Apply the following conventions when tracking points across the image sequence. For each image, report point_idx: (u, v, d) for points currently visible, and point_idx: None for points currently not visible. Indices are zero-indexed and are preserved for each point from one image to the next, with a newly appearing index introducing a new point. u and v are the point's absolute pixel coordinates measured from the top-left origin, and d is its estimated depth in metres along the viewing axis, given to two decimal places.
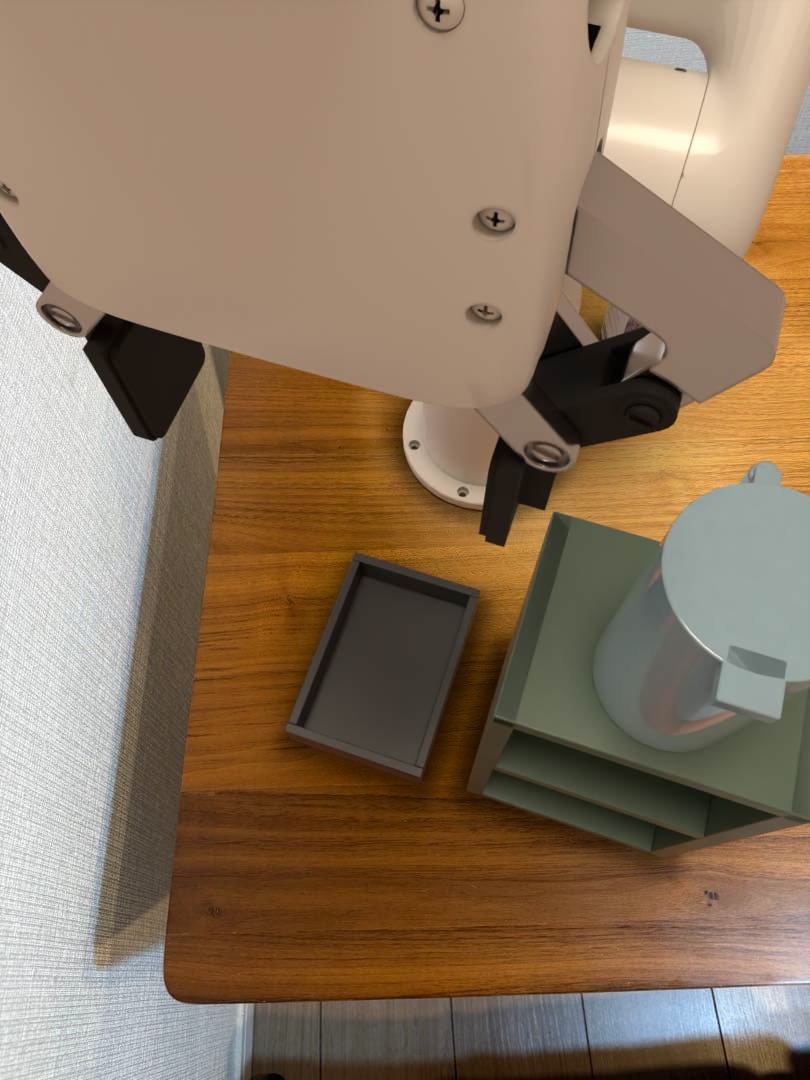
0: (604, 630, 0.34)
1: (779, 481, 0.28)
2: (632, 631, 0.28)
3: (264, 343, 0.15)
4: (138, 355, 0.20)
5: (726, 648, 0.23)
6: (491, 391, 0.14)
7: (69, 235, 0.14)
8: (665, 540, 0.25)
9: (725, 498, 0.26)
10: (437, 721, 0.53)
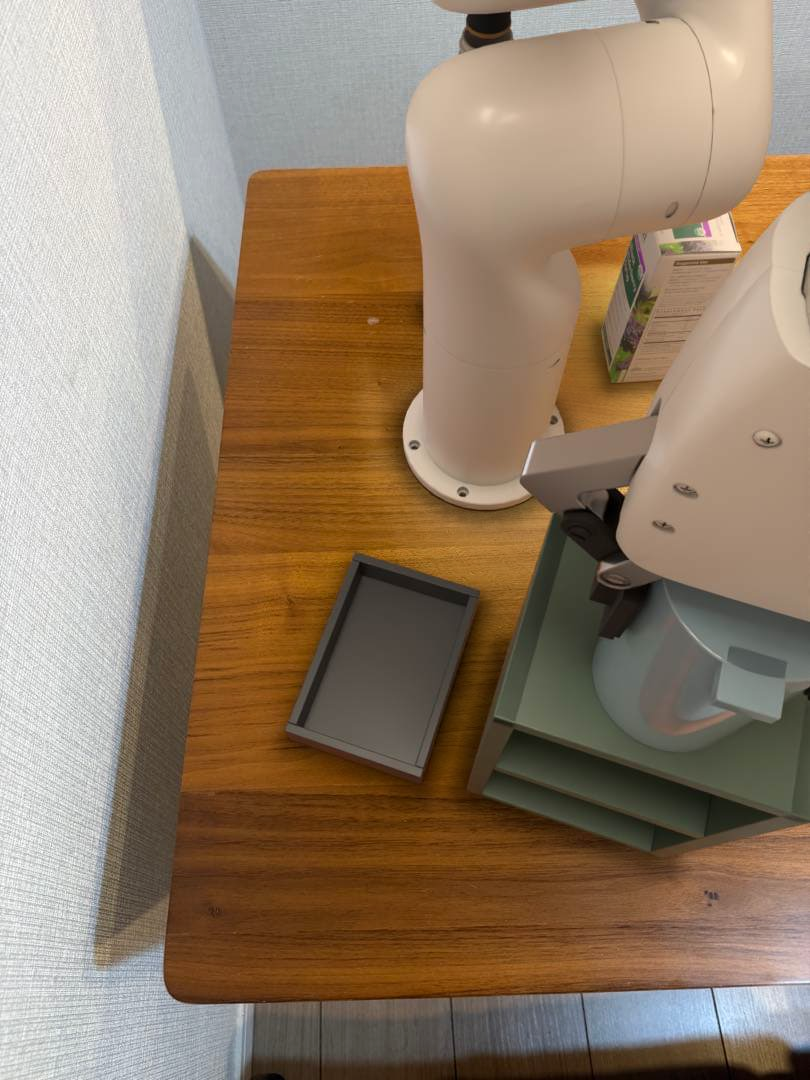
0: None
1: None
2: (632, 631, 0.28)
3: (804, 612, 0.21)
4: None
5: (726, 648, 0.23)
6: None
7: (698, 552, 0.20)
8: None
9: None
10: (437, 721, 0.53)
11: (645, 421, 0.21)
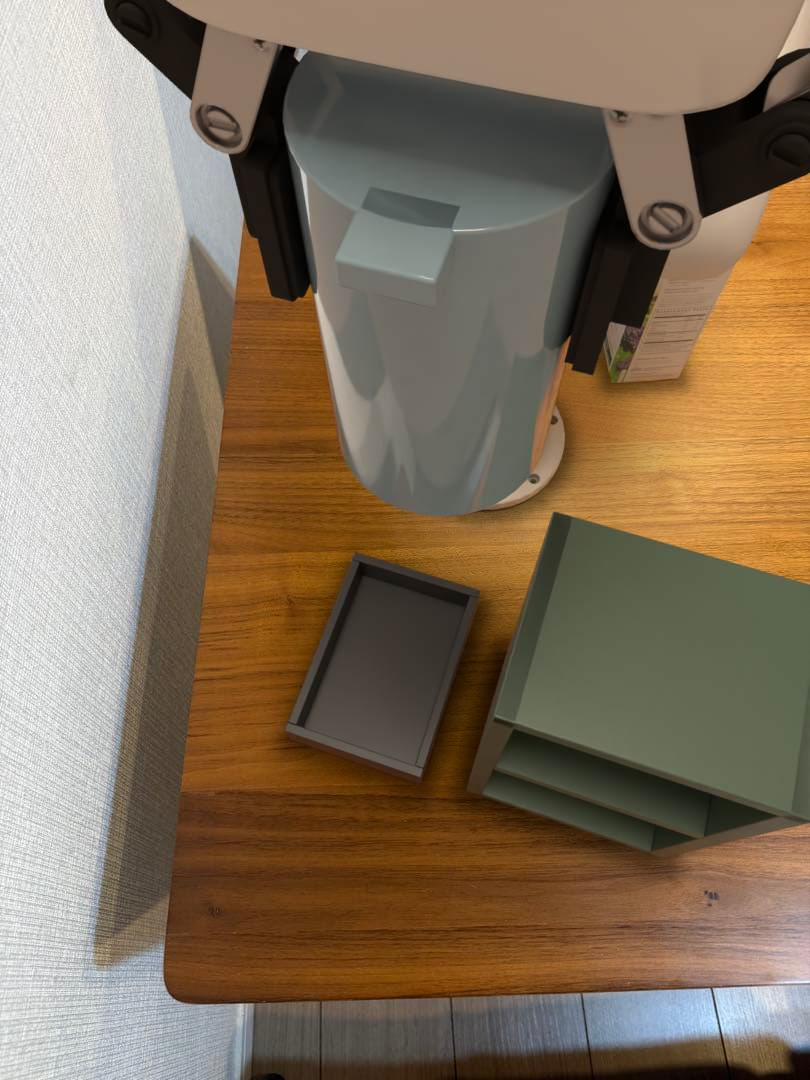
0: None
1: None
2: None
3: (429, 33, 0.12)
4: None
5: (363, 191, 0.14)
6: (732, 67, 0.11)
7: None
8: None
9: None
10: (437, 721, 0.53)
11: None
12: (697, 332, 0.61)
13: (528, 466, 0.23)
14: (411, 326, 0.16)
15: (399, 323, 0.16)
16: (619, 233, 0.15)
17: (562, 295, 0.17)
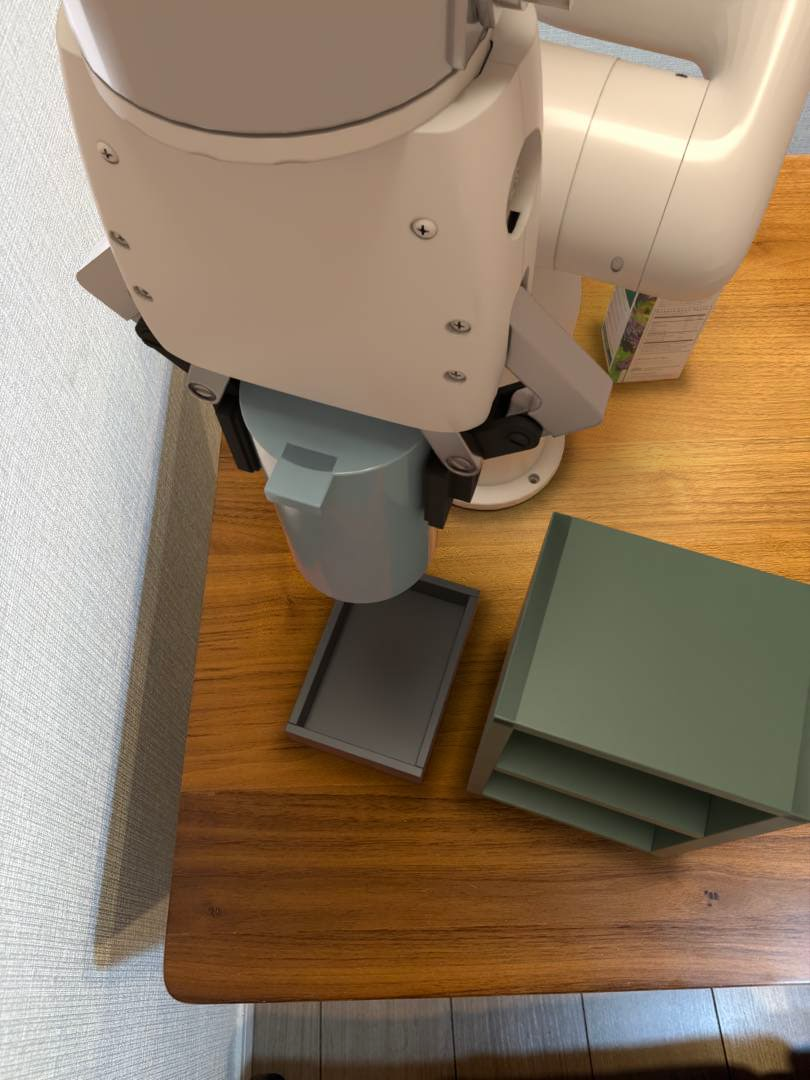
0: None
1: None
2: None
3: (310, 389, 0.22)
4: None
5: (283, 446, 0.25)
6: (462, 422, 0.21)
7: (184, 321, 0.21)
8: None
9: None
10: (437, 721, 0.53)
11: None
12: (697, 332, 0.61)
13: (419, 570, 0.34)
14: None
15: None
16: (439, 464, 0.25)
17: (412, 490, 0.27)
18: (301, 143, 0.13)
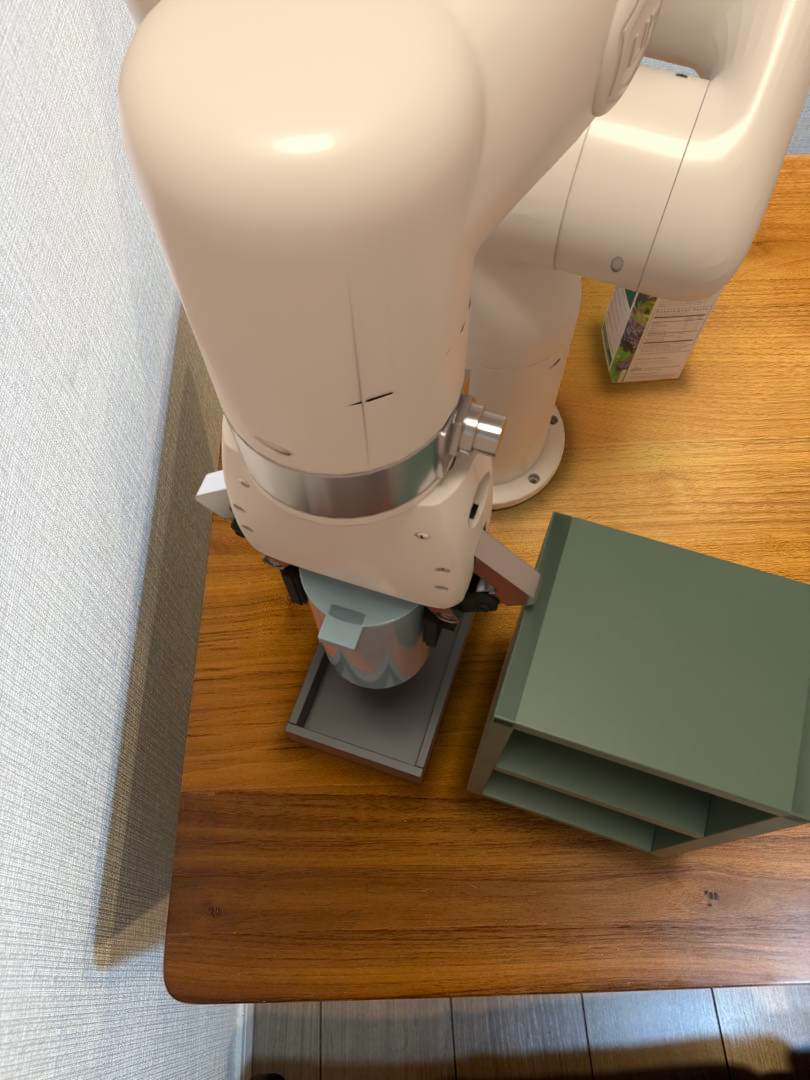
0: None
1: None
2: None
3: (350, 580, 0.35)
4: None
5: (329, 606, 0.37)
6: (446, 605, 0.34)
7: (272, 543, 0.34)
8: None
9: None
10: (437, 721, 0.53)
11: None
12: (697, 332, 0.61)
13: (419, 665, 0.46)
14: None
15: None
16: (432, 614, 0.38)
17: (414, 627, 0.39)
18: (359, 520, 0.26)
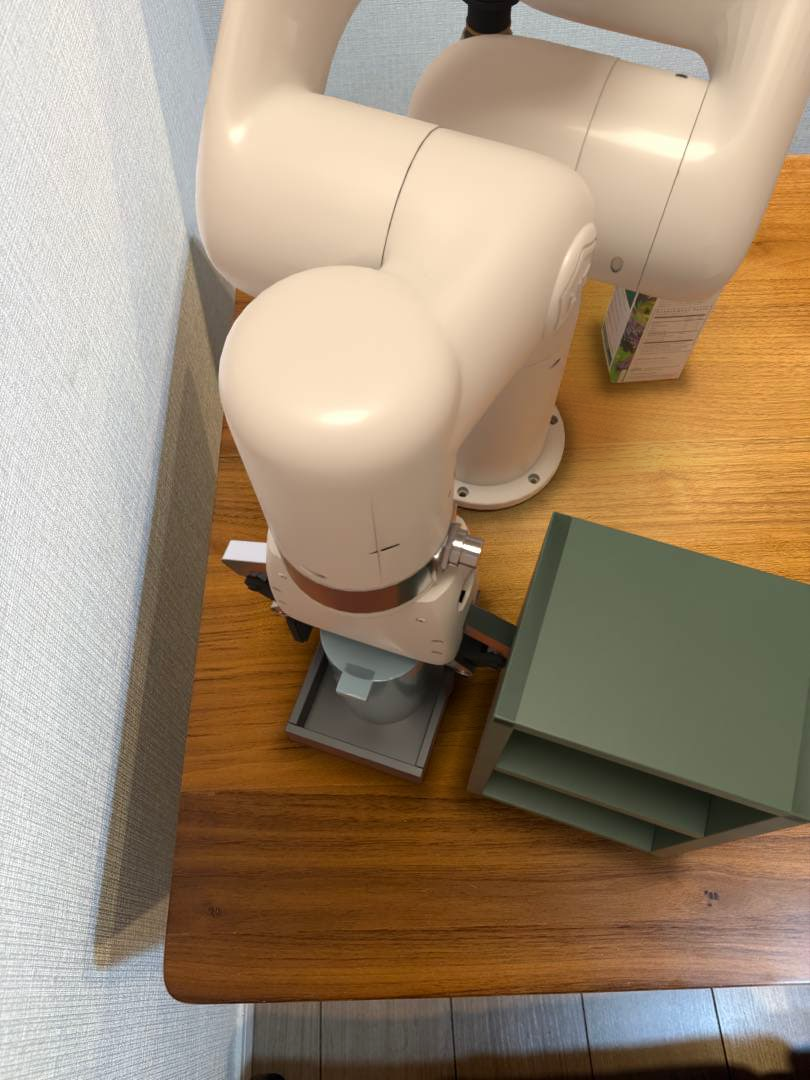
0: None
1: None
2: None
3: (364, 641, 0.43)
4: None
5: (345, 664, 0.46)
6: (441, 663, 0.43)
7: (302, 614, 0.42)
8: None
9: None
10: (437, 721, 0.53)
11: None
12: (697, 332, 0.61)
13: (418, 705, 0.55)
14: None
15: None
16: (450, 667, 0.46)
17: (414, 679, 0.48)
18: (374, 614, 0.34)
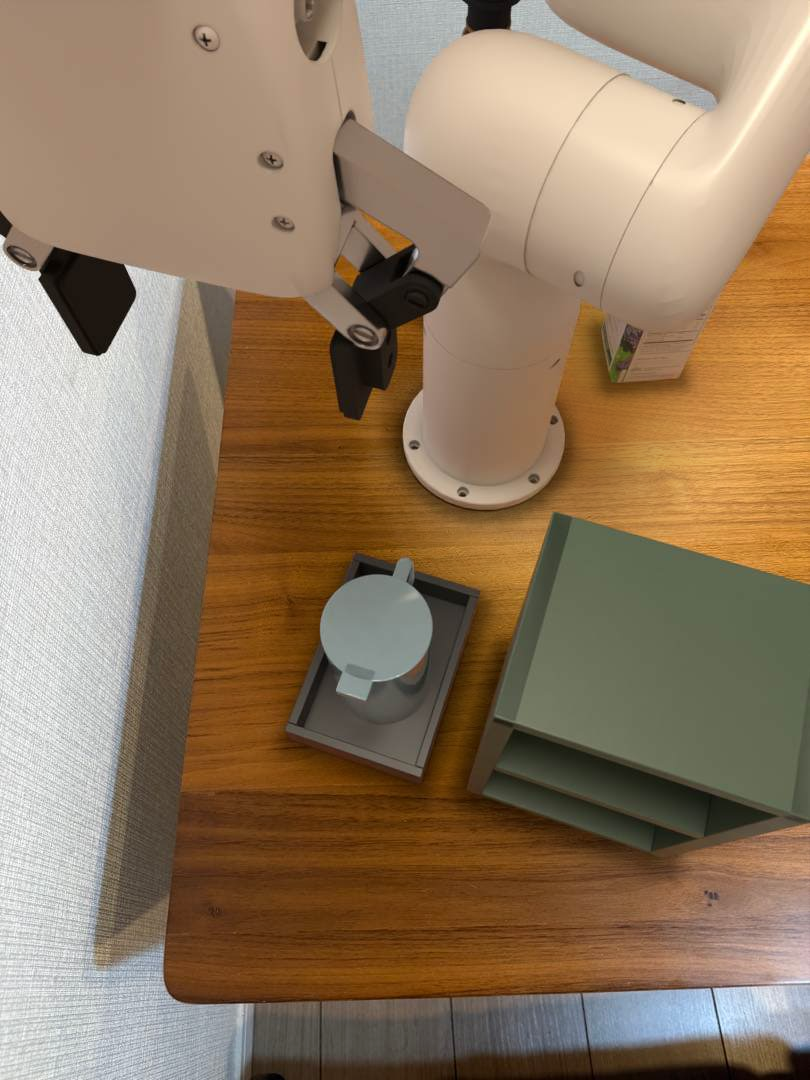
0: None
1: (408, 569, 0.50)
2: None
3: (157, 258, 0.22)
4: (80, 285, 0.27)
5: (345, 664, 0.46)
6: (305, 282, 0.21)
7: (20, 186, 0.21)
8: (325, 606, 0.47)
9: (360, 583, 0.48)
10: (437, 721, 0.53)
11: None
12: (697, 332, 0.61)
13: (418, 705, 0.55)
14: None
15: None
16: (343, 339, 0.25)
17: (414, 678, 0.48)
18: None
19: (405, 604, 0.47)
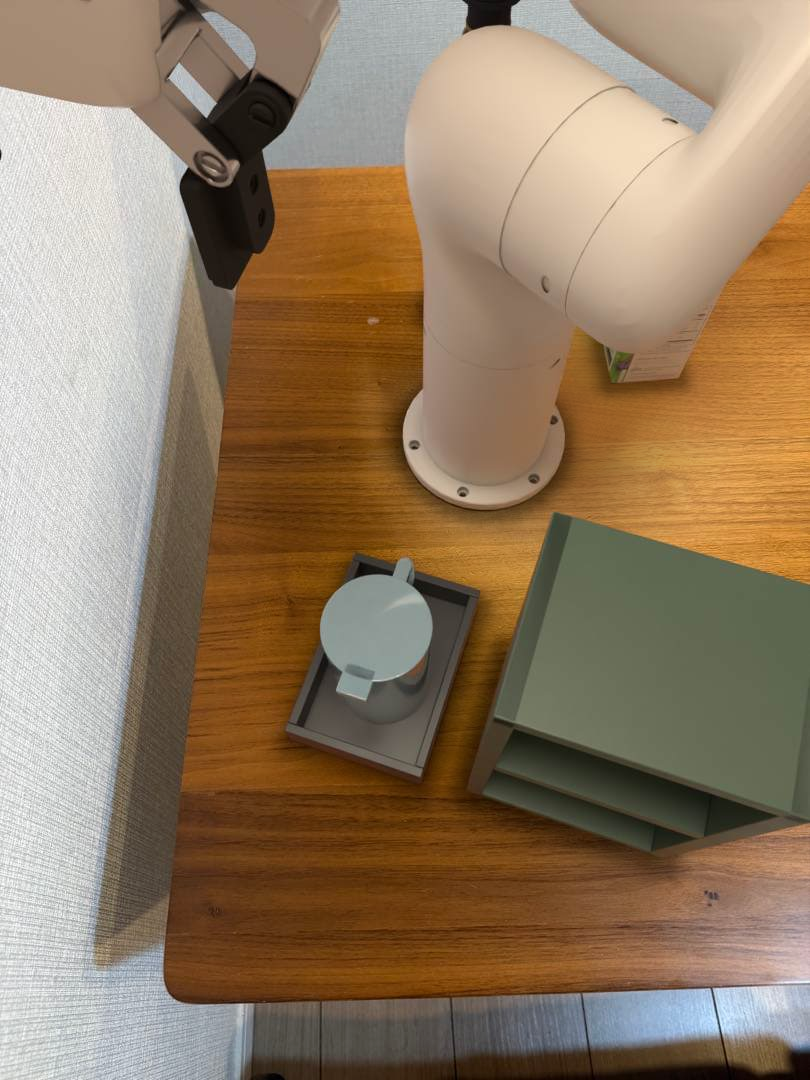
0: None
1: (408, 569, 0.50)
2: None
3: None
4: None
5: (345, 664, 0.46)
6: (123, 79, 0.18)
7: None
8: (325, 606, 0.47)
9: (360, 583, 0.48)
10: (437, 721, 0.53)
11: None
12: (697, 332, 0.61)
13: (418, 705, 0.55)
14: None
15: None
16: (193, 176, 0.22)
17: (414, 678, 0.48)
18: None
19: (405, 604, 0.47)
